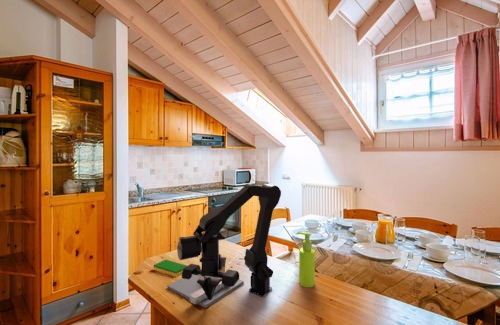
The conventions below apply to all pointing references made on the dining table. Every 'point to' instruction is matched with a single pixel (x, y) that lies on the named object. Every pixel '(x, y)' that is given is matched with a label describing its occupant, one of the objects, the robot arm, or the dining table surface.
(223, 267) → the block
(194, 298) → the lever
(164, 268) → the dish sponge
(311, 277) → the soap dispenser
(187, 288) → the base plate
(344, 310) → the dining table surface
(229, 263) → the butter knife
